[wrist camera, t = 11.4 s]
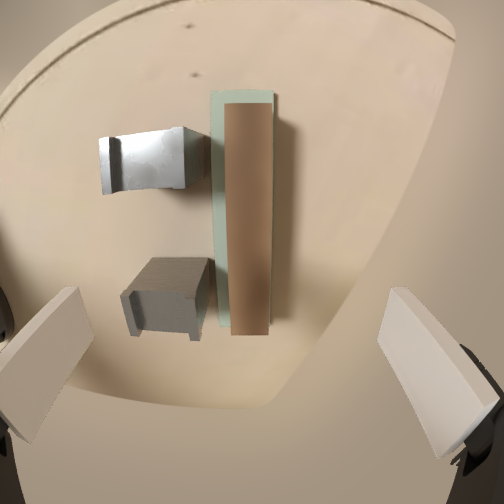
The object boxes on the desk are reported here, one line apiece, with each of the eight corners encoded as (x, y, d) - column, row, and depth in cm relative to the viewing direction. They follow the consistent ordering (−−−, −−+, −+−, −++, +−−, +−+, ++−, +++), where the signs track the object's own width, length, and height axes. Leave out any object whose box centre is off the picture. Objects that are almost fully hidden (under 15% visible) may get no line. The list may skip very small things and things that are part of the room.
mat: (220, 323, 30) (219, 326, 29) (211, 92, 21) (210, 91, 21) (269, 323, 30) (269, 326, 29) (272, 91, 21) (273, 90, 21)
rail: (233, 312, 28) (231, 335, 25) (228, 111, 21) (224, 103, 18) (266, 312, 28) (268, 335, 25) (268, 110, 21) (272, 103, 18)
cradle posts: (156, 291, 28) (130, 335, 21) (141, 140, 23) (99, 138, 15) (211, 292, 28) (199, 341, 21) (204, 134, 23) (183, 126, 15)
